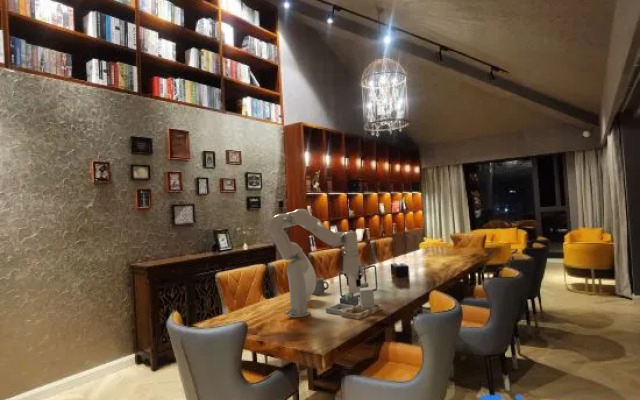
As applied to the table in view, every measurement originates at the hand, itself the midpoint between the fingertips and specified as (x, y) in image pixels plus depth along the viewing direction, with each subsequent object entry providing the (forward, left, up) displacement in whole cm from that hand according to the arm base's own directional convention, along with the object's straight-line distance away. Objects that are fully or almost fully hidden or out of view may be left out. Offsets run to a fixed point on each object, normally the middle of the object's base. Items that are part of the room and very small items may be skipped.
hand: (354, 285), depth 226 cm
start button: (+14, +16, -16) cm, 27 cm away
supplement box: (+11, 0, -17) cm, 20 cm away
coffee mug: (+31, +57, -17) cm, 67 cm away
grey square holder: (+14, +16, -17) cm, 27 cm away
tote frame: (+2, +13, -17) cm, 21 cm away
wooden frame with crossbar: (+5, 0, -17) cm, 17 cm away
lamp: (+11, +51, -17) cm, 55 cm away
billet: (0, 0, -4) cm, 4 cm away
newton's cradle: (+43, +31, -17) cm, 55 cm away
